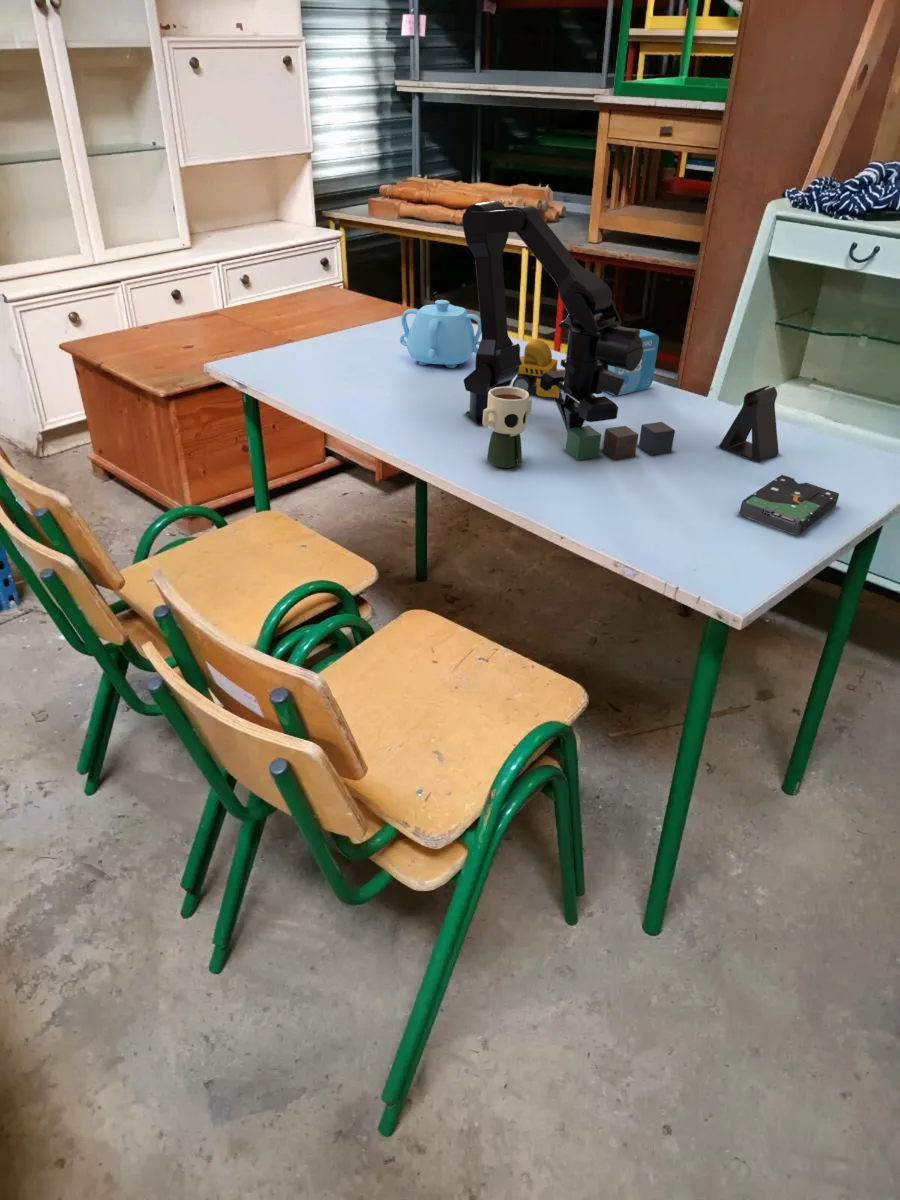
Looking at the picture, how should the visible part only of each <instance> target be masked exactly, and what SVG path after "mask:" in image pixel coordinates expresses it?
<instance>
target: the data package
mask: <svg viewBox="0 0 900 1200" xmlns="http://www.w3.org/2000/svg"><path fill="white" fill-rule="evenodd" d="M639 330H640V335H639V337H640V338H641V339H642V342H643V347H644V350H643V355H642V358H641V360H640V363H639V364H638V366H637V367H636V368H635V369H634V370H633V371H627V370H624V369H620V368H617V367H613V366H610V365H608V370H610V371H612V372H614V373H616V374H617V375H619V376H621V377H622V378H624V379H625V381H624V383H623V386H622V388H621V390H620V392H619V395H618V396H622V395H625V394H626V395H627V394H630V393H635V392H639V391H643V390H648V389H649V388H650V387H651V386H652V384H653V381H654V376H655V375H654V374H655V368H656V361H657V355H658V350H659V349H658V348H659V343H660V337H659V335H658V334H656V333H654V332H652V331H648V330H645V329H642V328H641V329H639ZM604 392H605V393H607V394H610V395H612V396H614V397H615V396H616V395H614V394H613V393H610V392H607V391H604Z"/></svg>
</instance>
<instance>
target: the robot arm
mask: <svg viewBox="0 0 900 1200" xmlns="http://www.w3.org/2000/svg"><path fill="white" fill-rule="evenodd" d="M461 224H462V225H461V226H462V229H463V234H464V239H465V243H466V245H467V247H468V248H469V251H471V253H472V255H473V256H474V261H475V271H476V282H477V283H476V284H477V295H478V308H479V318H480V320H481V340H480V341H479V342H480V345H478V347H477V349H478V350H477V353H475V367H474V370H473V371H472V372H470V373H469V374H468V375H467V376H466V377H465V378H464V379H463V385H464V389H465V391H467V392H469V410H467V411H465V416H467V417H468V418H470V420H472V421H473V422H474V423H475V424H476V425H479V426H481V425H482V426H483V411H484V409H486V408H487V405H488V392H489V391H490V390H491V389H493V388H496V387H511V385H512V383H513V381H514V380H513V379H515V378H516V377H517V374H518V372H519V365H522V362H521V360H520V357H521V345H520V343H513V341H512V339H511V337H510V336H509V332H508V331H509V330H508V319H507V304H506V290H505V278H504V277H505V276H504V262H503V253H504V251H505V248H506V246H507V242H508V240H509V236H510V235H509V234H510V233H516V235H518V237H519V238H520V239H521V241H522V242H523V243H524V245H525V246H526V247H527V248H528V250H529V251H530V252H531V253H532V255H533V256H534V257H535V258H536V260H537V261H538V262H539V263H540V265H541V266H542V267H543V268H544V270H545V271H546V272H547V273H548V275H549V276H550V277H551V279H552V280H553V281H554V282H555V284H556V286H557V288H558V292H559V293H558V294H559V298H560V301H561V303H562V304H563V306H564V308H565V310H566V312H567V313H568V315H567V316H566V317H565V319H563V320H562V321H560V322H559V323H558V328H561V329H565V330H568V337H567V345H566V354H565V358H563V359H560V366H562V367H563V369H565V370H561V371H552V372H545V373H544V374H543V376H542V377H541V380H540V387H541V388H542V389H544V390H545V391H550V389H551V387H552V386H555V385H556V386H557V387H559V389H558V391H559V396H558V398H556V397H554V402H555V404H556V406H557V408H558V412H559V414H560V417H561V419H562V421H563V425H564V427H565V430H566V433H567V434H568V429H569V428H576V427H583V425H584V423H585V422H588V423H596V422H602V421H610V420H616V419H617V418H618V413H619V406H618V405H617V404H616V403H615V402H614V401H613V400H612V399H610V398H608V397H607V396H605V395H604V396H603V395H602V394H603V391H604V392H605V391H607V392H606V393H608V392H610V393H613V394H614V395H616V396H617V397H618V396H620V395H619V392H620V390H621V388H622V386H623V383H624V381H625V379H624V378H622V377H621V376H619V375H617V374H616V373H614V372H612V371H610V370H608V365H610V366H613V367H617V368H620V369H624V370H627V371H633V370H634V369H635V368H636V367H637V366H638V364H639V363H640V360H641V358H642V355H643V350H644V347H643V342H642V339H641V338H640V337H639V335H640V329H638V328H634V327H633V328H631V327H625V326H621V325H622V320H621V317H620V315H619V313H618V310H617V308H616V306H615V304H614V301H613V292H612V289H611V288H610V286H609V285H608V284H607V283H606V282H605V281H603V279H601V278H600V277H599V276H598V275H597V274H596V273H595V272H592V271H590V270H589V269H586V268H584V267H583V266H582V265H581V264H580V263H578V261H577V260H576V259H575V257H574V256H573V255H572V253H570V251H569V250H568V249H567V247H566V246H565V245H564V244H563V243H562V241H561V239H559V238H558V236H557V235H556V233H555V232H554V231H553V230H552V229H551V227H550V226H549V225H548V224H547V222H546V221H545V220H544V218H543V217H542V216H541V212H540V211H539V209H538V208H537V207H536V206H534V205H526V206H525V205H524V206H516V205H514V206H505V205H504V204H503V203H502V202H500V201H499V200H498V201H497V200H492V201H487V202H480V203H473V204H471V205H469V206H468V207H467V208H466V209H465V211H464V212H463V213H462V218H461ZM600 316H602V317H601V318H599V319H596V318H597V317H600ZM610 393H609V394H610ZM596 395H602V396H596ZM614 395H613V396H614Z"/></svg>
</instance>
